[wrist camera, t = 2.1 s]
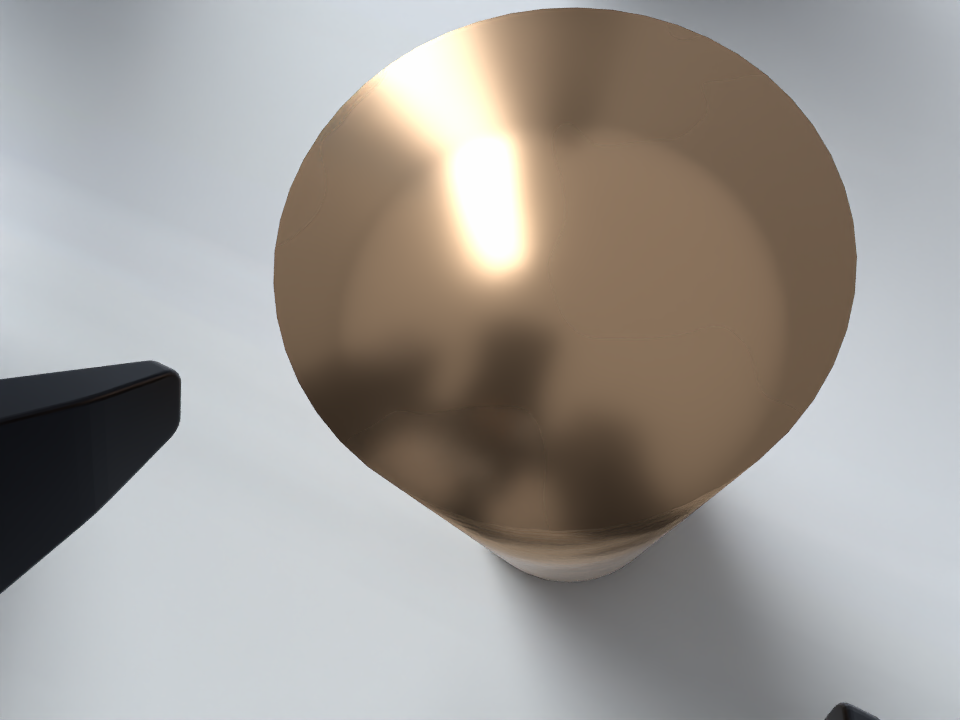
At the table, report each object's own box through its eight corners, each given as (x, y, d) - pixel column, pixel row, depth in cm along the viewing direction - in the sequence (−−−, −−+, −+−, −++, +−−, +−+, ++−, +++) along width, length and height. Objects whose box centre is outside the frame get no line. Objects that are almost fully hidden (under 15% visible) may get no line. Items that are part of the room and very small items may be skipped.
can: (570, 629, 18) (563, 679, 6) (421, 476, 20) (166, 256, 7) (716, 472, 19) (987, 214, 6) (560, 336, 20) (541, -72, 8)
